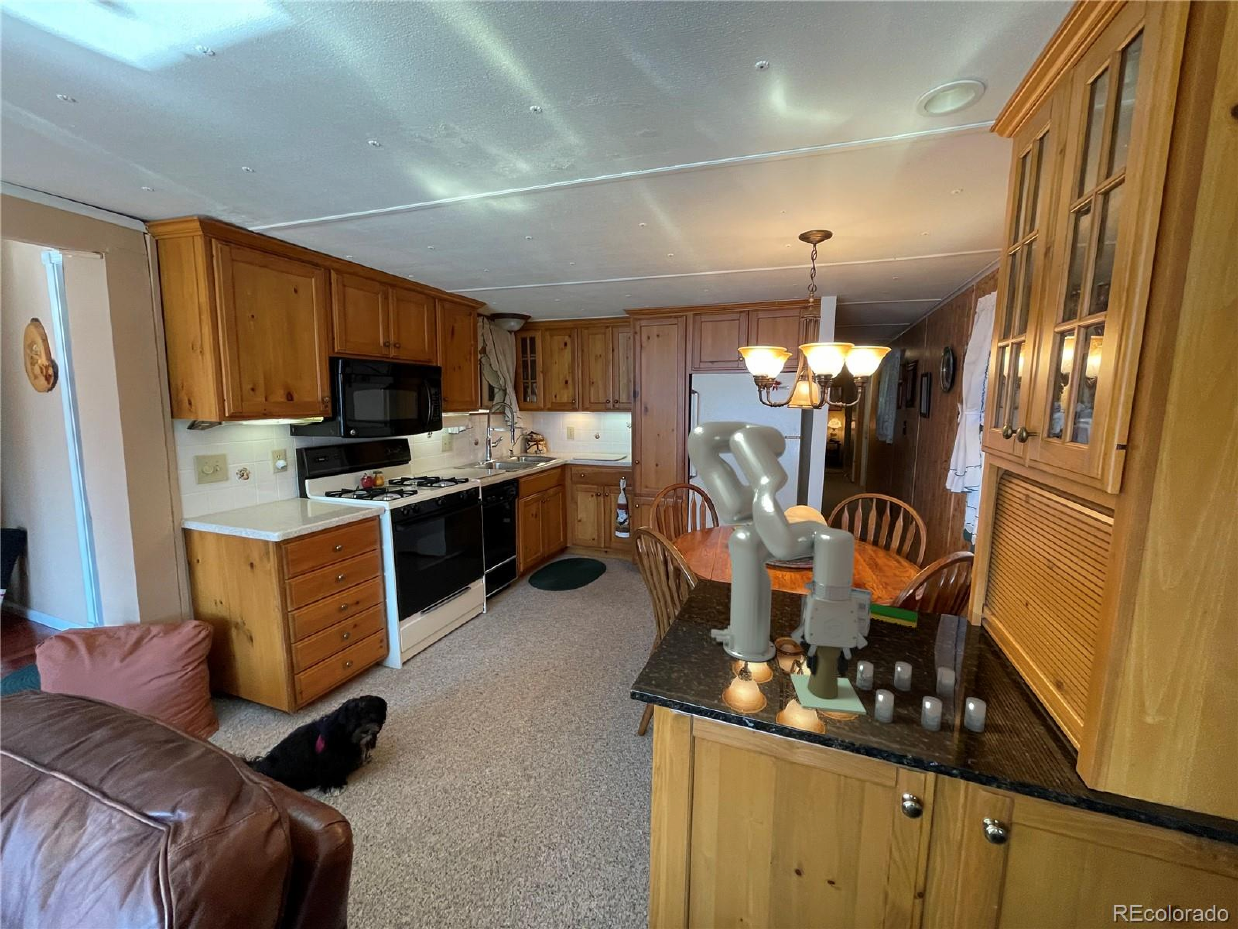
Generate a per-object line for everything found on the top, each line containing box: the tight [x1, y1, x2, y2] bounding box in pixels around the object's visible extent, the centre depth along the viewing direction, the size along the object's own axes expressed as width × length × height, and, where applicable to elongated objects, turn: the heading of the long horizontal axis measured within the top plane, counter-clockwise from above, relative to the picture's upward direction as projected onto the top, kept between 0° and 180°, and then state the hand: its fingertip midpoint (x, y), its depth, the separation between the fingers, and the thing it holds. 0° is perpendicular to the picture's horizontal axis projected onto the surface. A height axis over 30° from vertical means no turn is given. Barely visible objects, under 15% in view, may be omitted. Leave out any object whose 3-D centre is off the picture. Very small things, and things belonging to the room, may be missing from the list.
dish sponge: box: [870, 602, 918, 628], centre depth 140 cm, size 7×14×2 cm, turn 56°
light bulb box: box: [851, 587, 872, 637], centre depth 133 cm, size 11×7×11 cm, turn 57°
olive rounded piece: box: [807, 646, 841, 699], centre depth 101 cm, size 6×6×11 cm
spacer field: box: [855, 660, 987, 733], centre depth 98 cm, size 19×16×5 cm
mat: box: [790, 673, 867, 716], centre depth 102 cm, size 12×12×1 cm
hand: (826, 671), depth 102 cm, fingers open, 5 cm apart
